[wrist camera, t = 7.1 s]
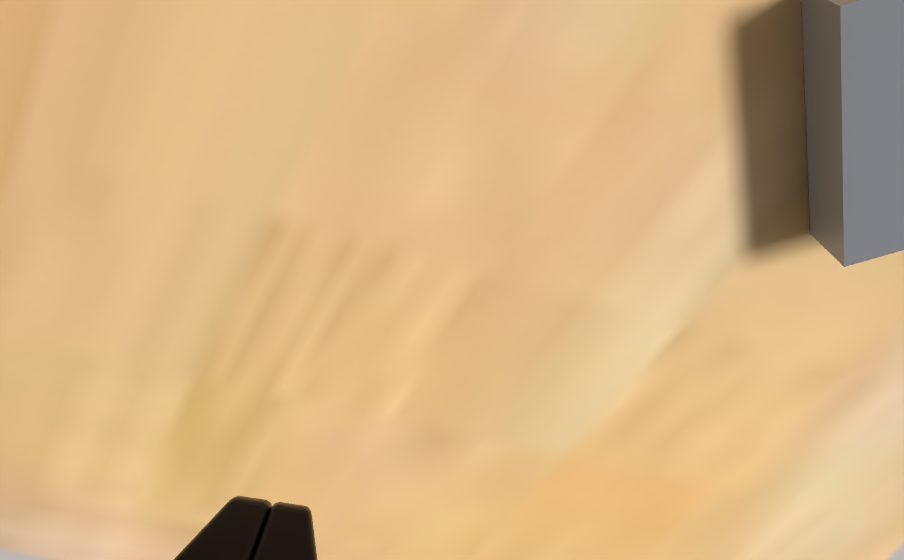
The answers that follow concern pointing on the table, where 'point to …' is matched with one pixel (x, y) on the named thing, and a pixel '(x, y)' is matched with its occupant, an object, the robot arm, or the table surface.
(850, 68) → the glazed tile
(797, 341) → the table surface
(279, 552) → the robot arm
